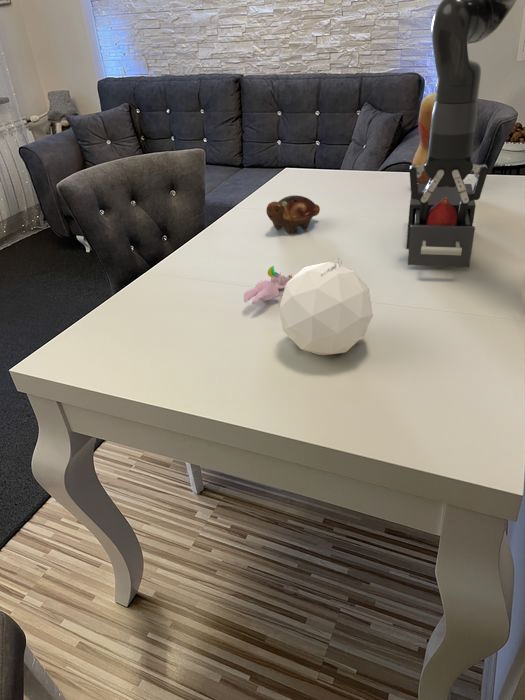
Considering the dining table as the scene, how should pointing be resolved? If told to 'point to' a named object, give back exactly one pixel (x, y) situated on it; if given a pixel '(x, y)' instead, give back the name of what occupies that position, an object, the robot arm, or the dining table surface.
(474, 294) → the dining table surface
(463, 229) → the drawer
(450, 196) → the cabinet
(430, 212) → the onion
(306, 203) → the decorative turtle
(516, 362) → the dining table surface
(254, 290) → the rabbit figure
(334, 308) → the geodesic sphere
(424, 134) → the butternut squash
